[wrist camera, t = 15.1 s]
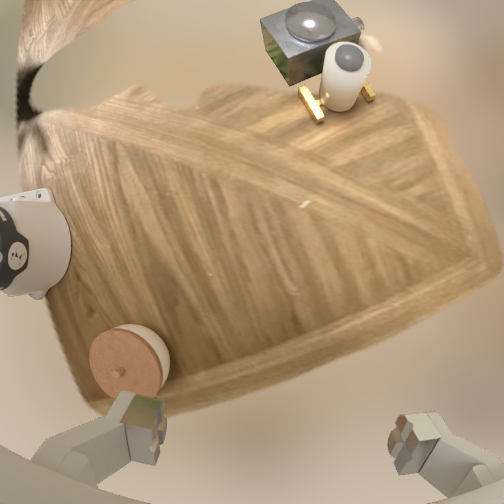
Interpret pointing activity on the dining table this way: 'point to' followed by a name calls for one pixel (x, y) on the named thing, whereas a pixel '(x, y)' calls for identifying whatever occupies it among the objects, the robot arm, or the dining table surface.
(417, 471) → the robot arm
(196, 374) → the dining table surface
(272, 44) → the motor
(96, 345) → the lidded jar
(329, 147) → the dining table surface
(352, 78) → the white bottle
